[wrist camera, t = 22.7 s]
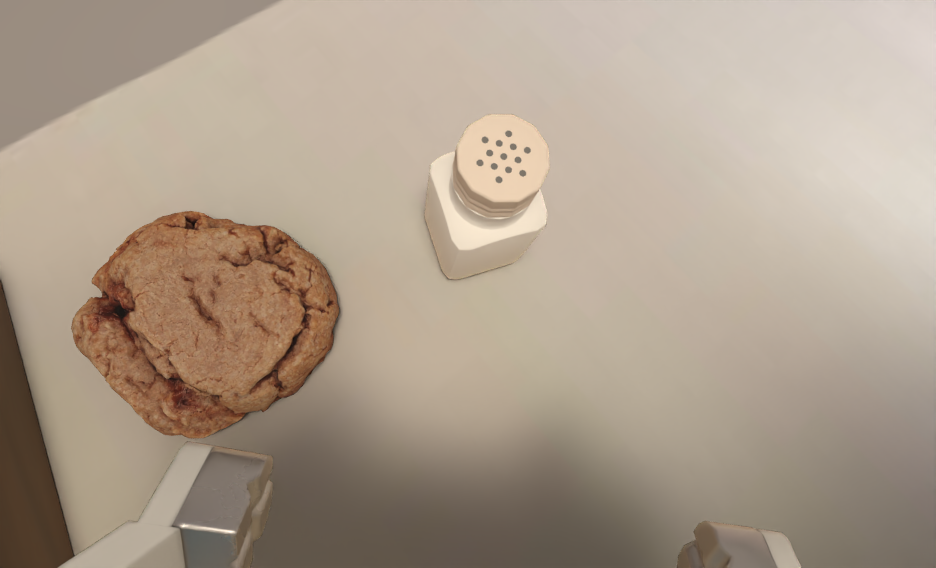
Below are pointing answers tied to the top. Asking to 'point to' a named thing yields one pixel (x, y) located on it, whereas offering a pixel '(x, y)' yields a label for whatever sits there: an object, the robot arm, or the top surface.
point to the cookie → (206, 321)
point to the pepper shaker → (487, 196)
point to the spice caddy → (25, 470)
